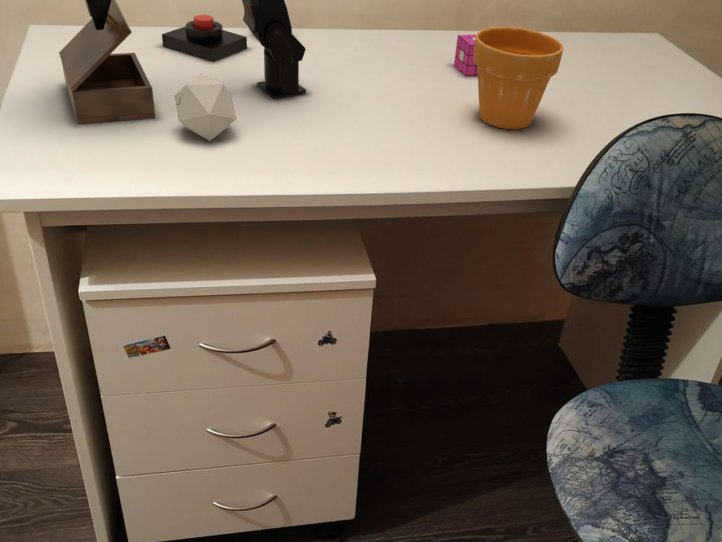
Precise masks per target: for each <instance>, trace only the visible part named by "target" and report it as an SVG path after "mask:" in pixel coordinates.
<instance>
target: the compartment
mask: <svg viewBox="0 0 722 542" xmlns="http://www.w3.org/2000/svg"><path fill="white" fill-rule="evenodd" d="M61 65H62V71H63V77H64V82H65V87H66V90H67V91H66V92H67V93H68V97H69V100H70V104H71V107H72V110H73V113H74V117H75V121H76V123H77V125H81V124H83V125H84V124H95V123H97V124H98V123H106V122H107V123H108V122H110V123H111V122H119V121H120V122H122V121H132V120H135V121H136V120H147V119H156V110H155V102H154V92H153V86H152V84H151V83H150V81H149V78H148V77H147V74H146V72H145V71H144V69H143V67H142V64H141V63H140V60H139V59H138V57H137V54H136V53H135V52H121V53H111V54H110V55H109V56H108V57H107V58H106V59H105V60H104V61H103V62H102V63H101V64H100V65H99V66H98V67H97V68H96V69H95V70H94V71H93V72H92V73H91V74H90V75H89V76H88V77H87V78H86V79H85V80H84V81H83V82H82V83H81V84H80V85H79V86H78V87H77V88H76V89H75V90H74V91H72V90H71V89H70V86H69V83H68V80H67V77H66V74H65V70H64V67H63V64H62V63H61Z"/></svg>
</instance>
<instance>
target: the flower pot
mask: <svg viewBox="0 0 722 542" xmlns="http://www.w3.org/2000/svg"><path fill="white" fill-rule="evenodd" d="M475 35H476V38H475V45H474V53H473V60H474V62H475V64H476V65H477V69H478V75H477V91H478V109H479V111H478V113H479V118H480V120H482V121H483V122H484V123H486V124H487V125H490V126H493V127H496V128H500V129H504V130H505V129H506V130H520V129H524V128H527V127H529V126H530V125H531V123H532V121H533V119H534V117H535V115H536V112H537V110H538V108H539V106H540V104H541V101H542V98H543V97H544V94H545V92H546V89H547V87H548V85H549V82H550V80H551V78H552V77H553V76H555V75H556V74H557V73H558V72H559V71H558V70H559V68H560V64H561V61H562V56H563V52H564V46H563V44H562V42H561V41H560V40H558V39H557V38H555V37H553V36H551V35H549V34H547V33H544V32H540V31H537V30H533V29H529V28H522V27H514V26H513V27H512V26H493V27H487V28H483V29H480V30H479V31H478V32H477V33H476V34H475Z"/></svg>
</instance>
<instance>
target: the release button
mask: <svg viewBox="0 0 722 542" xmlns="http://www.w3.org/2000/svg"><path fill="white" fill-rule="evenodd" d="M193 21H194V27H195V28H198V29H211V28H214V21H215V20H214V17H213V16H211V15H209V14H197V15H194V16H193Z"/></svg>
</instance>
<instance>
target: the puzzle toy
mask: <svg viewBox="0 0 722 542" xmlns="http://www.w3.org/2000/svg"><path fill="white" fill-rule="evenodd" d="M475 38H476V34H457V38H456V45H455V54H454V61H453V66H454V67H455V68H456V69H457V70H459V72H460V73H462V75H464V76H465V77H473V76H475V77H476V76H478V69H477V65H476V64H475V62H474V60H473V53H474V45H475Z"/></svg>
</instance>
